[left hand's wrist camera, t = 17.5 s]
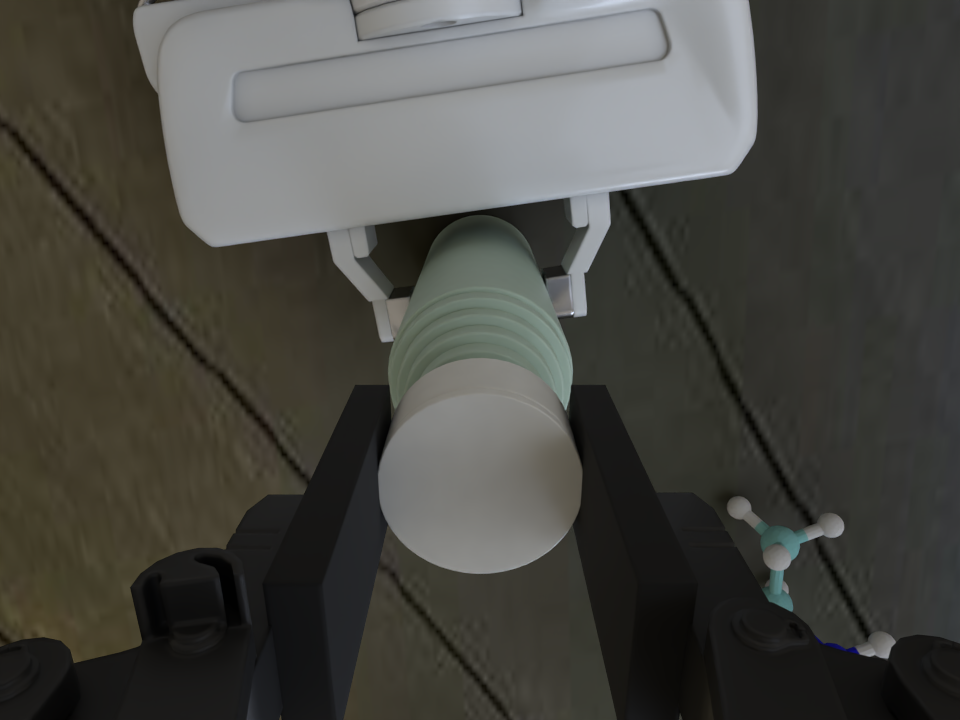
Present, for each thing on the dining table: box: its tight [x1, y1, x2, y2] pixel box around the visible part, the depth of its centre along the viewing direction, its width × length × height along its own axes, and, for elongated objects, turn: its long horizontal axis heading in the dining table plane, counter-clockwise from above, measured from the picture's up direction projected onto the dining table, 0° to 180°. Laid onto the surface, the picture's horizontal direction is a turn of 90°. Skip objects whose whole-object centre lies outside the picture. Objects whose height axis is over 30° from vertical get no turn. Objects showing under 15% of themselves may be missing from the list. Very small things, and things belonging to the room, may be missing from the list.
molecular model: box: [727, 496, 896, 658], centre depth 34 cm, size 12×10×10 cm
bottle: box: [388, 215, 573, 410], centre depth 22 cm, size 5×5×19 cm
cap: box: [378, 358, 583, 574], centre depth 14 cm, size 4×4×2 cm
